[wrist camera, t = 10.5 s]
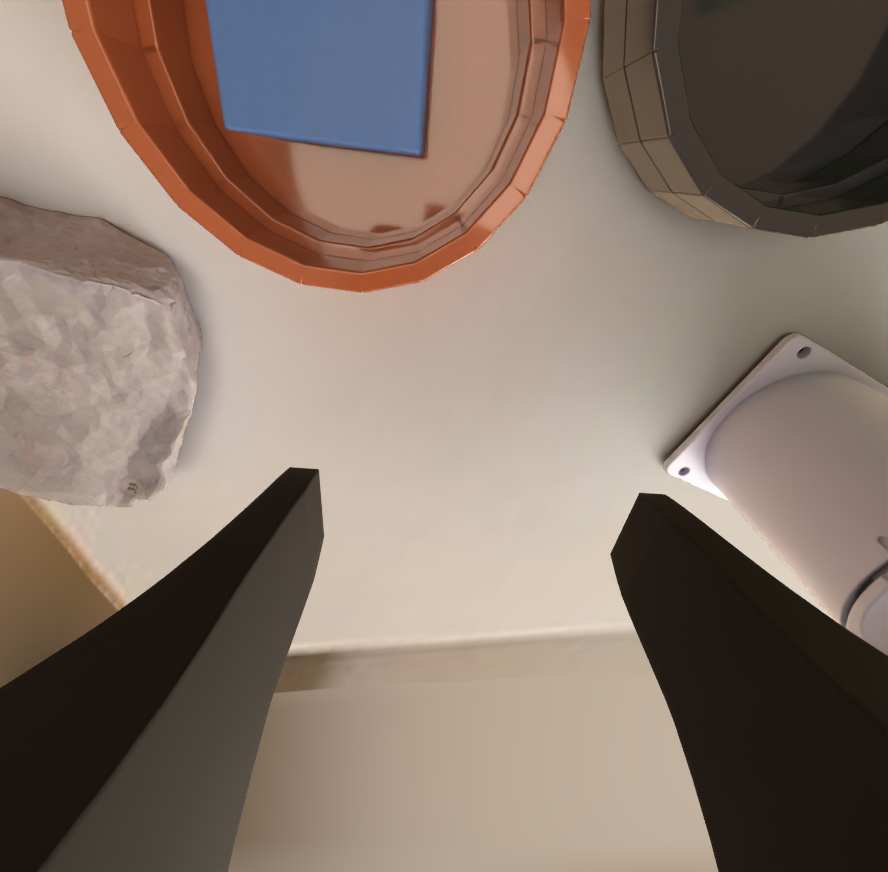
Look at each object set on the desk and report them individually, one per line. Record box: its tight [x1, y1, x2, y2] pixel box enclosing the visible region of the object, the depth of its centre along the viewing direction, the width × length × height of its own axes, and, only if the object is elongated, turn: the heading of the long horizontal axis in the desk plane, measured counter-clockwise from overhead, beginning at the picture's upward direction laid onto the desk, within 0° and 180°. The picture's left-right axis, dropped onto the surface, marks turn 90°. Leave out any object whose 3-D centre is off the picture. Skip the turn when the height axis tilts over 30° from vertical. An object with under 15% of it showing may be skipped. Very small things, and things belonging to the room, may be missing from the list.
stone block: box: [0, 197, 202, 507], centre depth 16 cm, size 12×5×10 cm
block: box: [205, 0, 434, 158], centre depth 10 cm, size 4×4×4 cm
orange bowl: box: [62, 0, 591, 293], centre depth 11 cm, size 12×12×4 cm
